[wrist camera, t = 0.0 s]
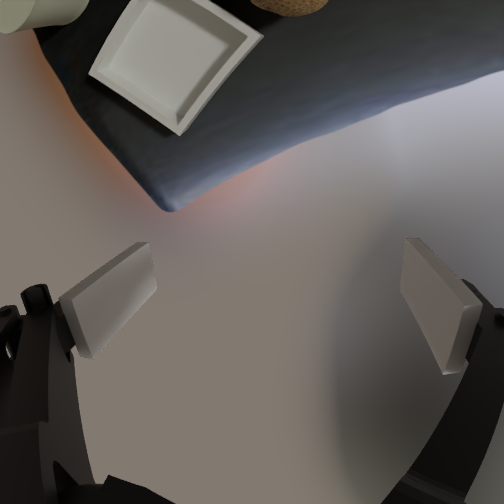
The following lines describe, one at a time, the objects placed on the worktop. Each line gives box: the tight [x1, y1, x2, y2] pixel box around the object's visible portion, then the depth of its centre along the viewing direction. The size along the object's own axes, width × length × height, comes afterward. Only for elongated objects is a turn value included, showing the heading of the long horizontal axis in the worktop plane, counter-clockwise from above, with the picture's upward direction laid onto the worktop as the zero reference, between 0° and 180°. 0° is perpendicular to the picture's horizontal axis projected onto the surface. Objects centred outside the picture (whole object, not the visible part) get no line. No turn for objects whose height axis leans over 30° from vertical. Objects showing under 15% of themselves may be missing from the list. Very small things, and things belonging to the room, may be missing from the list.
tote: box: [89, 0, 264, 136], centre depth 30 cm, size 16×16×4 cm
